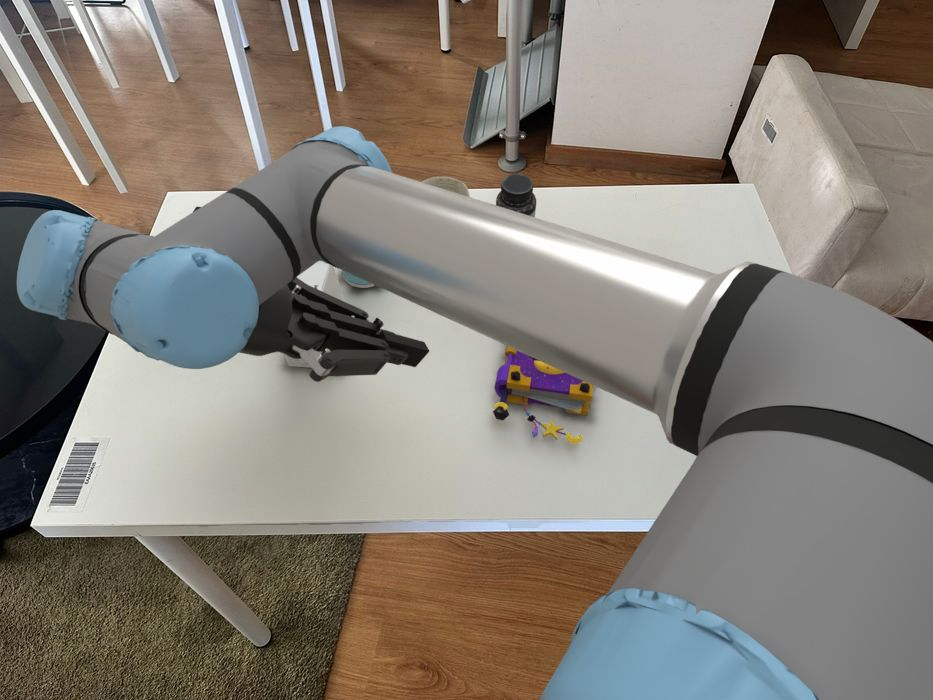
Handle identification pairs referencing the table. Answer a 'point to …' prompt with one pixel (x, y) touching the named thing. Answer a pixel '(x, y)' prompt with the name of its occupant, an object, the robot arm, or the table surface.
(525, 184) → the pill bottle
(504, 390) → the book
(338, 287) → the cosmetic box
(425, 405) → the table surface
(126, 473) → the table surface
